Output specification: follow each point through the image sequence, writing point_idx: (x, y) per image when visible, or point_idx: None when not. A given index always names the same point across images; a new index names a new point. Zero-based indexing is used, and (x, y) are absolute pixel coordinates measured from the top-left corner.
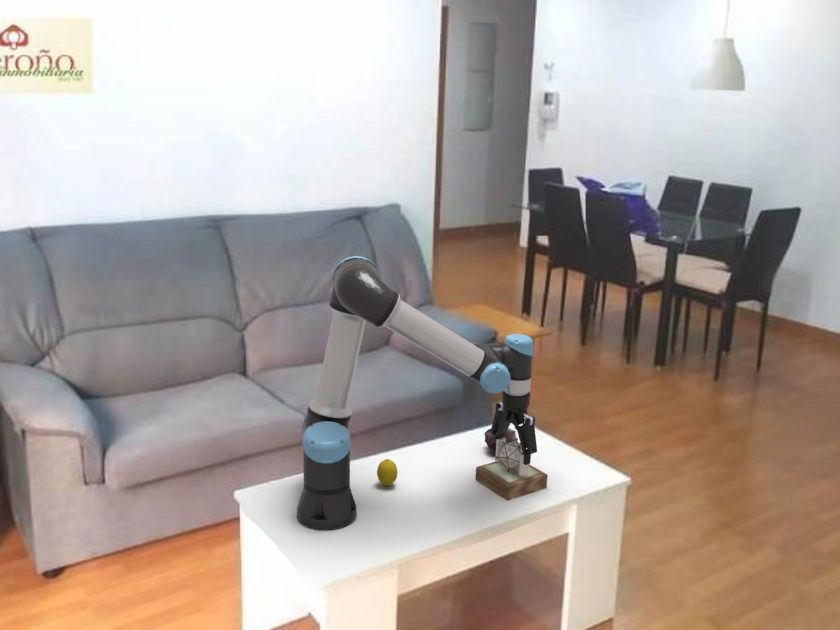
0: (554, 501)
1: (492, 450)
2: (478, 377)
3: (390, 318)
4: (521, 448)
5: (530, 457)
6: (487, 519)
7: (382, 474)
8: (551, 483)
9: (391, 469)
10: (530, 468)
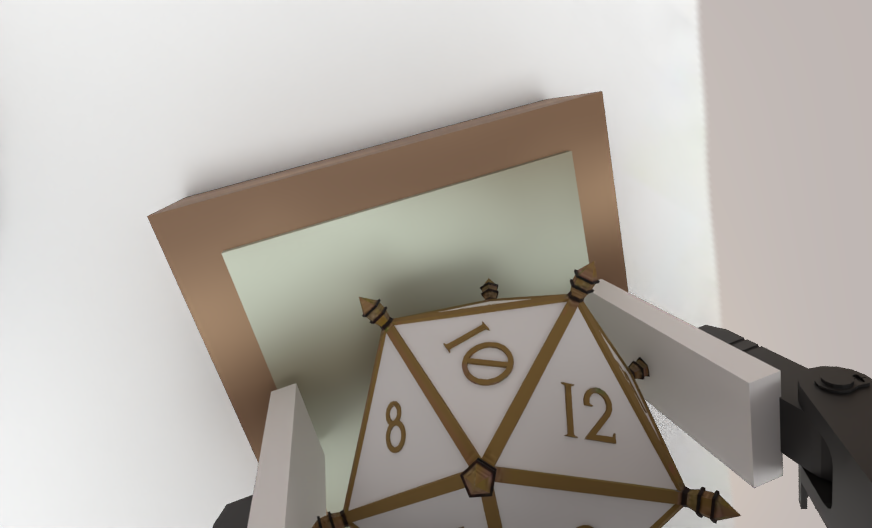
0: (703, 143)
1: None
2: None
3: None
4: (654, 437)
5: (781, 358)
6: (701, 524)
7: None
8: (499, 24)
9: None
10: (475, 193)
